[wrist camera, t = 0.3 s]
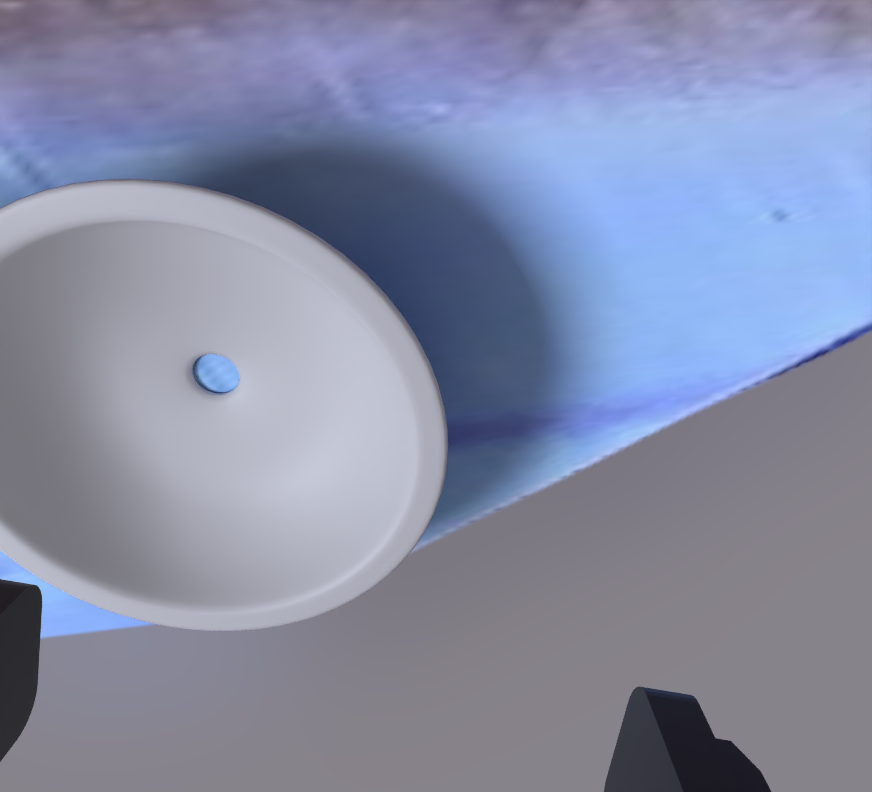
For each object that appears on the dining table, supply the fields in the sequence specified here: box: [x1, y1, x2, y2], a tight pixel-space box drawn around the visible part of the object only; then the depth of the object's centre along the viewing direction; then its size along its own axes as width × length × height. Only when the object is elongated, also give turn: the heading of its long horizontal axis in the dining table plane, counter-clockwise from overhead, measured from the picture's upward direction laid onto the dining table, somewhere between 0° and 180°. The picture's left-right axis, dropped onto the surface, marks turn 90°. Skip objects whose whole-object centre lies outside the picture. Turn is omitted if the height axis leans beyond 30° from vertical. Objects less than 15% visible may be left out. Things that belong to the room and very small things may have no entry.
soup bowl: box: [0, 179, 448, 631], centre depth 39 cm, size 24×24×7 cm
